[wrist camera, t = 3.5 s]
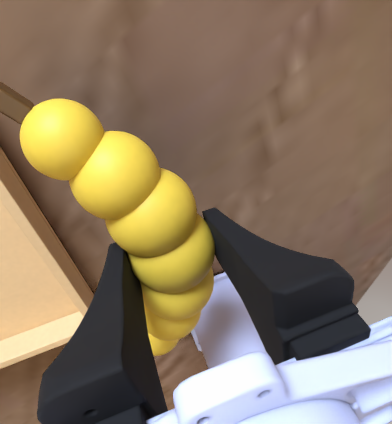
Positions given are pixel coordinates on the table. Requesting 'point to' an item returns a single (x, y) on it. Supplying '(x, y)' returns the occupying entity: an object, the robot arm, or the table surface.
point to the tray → (34, 277)
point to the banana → (126, 207)
